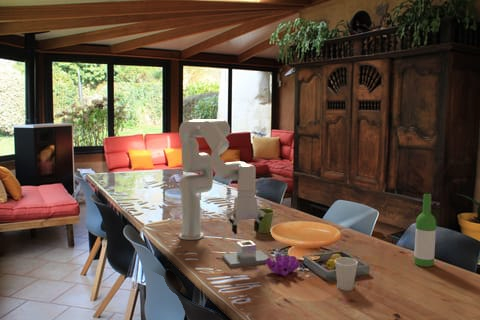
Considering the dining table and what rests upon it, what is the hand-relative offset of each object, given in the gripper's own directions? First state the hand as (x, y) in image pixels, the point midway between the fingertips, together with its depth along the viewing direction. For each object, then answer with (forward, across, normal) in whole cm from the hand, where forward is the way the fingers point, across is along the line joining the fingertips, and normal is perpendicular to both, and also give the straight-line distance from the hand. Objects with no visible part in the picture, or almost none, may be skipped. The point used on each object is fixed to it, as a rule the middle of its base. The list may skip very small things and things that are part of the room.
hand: (245, 232), depth 184 cm
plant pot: (+13, -23, -36) cm, 45 cm away
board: (+12, 0, +1) cm, 12 cm away
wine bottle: (+11, -69, +30) cm, 76 cm away
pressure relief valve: (+12, -33, +24) cm, 43 cm away
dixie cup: (+11, -25, +39) cm, 48 cm away
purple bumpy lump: (+12, -9, +19) cm, 24 cm away
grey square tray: (+11, -31, +22) cm, 40 cm away
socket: (+11, 0, +1) cm, 11 cm away
